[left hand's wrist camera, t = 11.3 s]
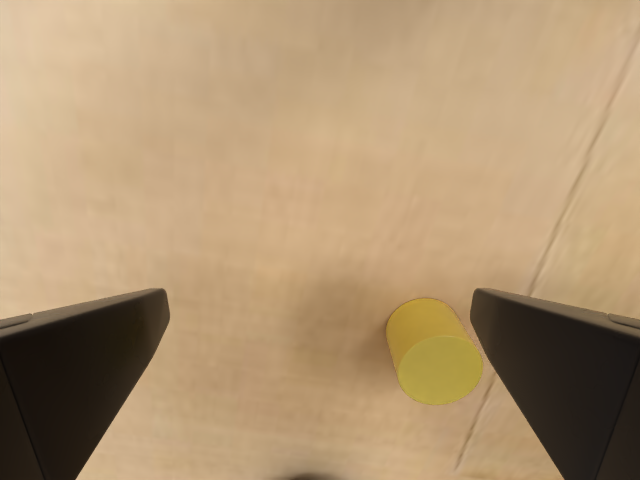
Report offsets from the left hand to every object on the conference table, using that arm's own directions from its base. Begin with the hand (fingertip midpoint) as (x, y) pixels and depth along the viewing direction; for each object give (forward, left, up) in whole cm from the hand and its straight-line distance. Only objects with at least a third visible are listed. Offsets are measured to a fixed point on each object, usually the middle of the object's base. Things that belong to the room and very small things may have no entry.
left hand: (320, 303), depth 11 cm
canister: (-4, +10, -11) cm, 16 cm away
